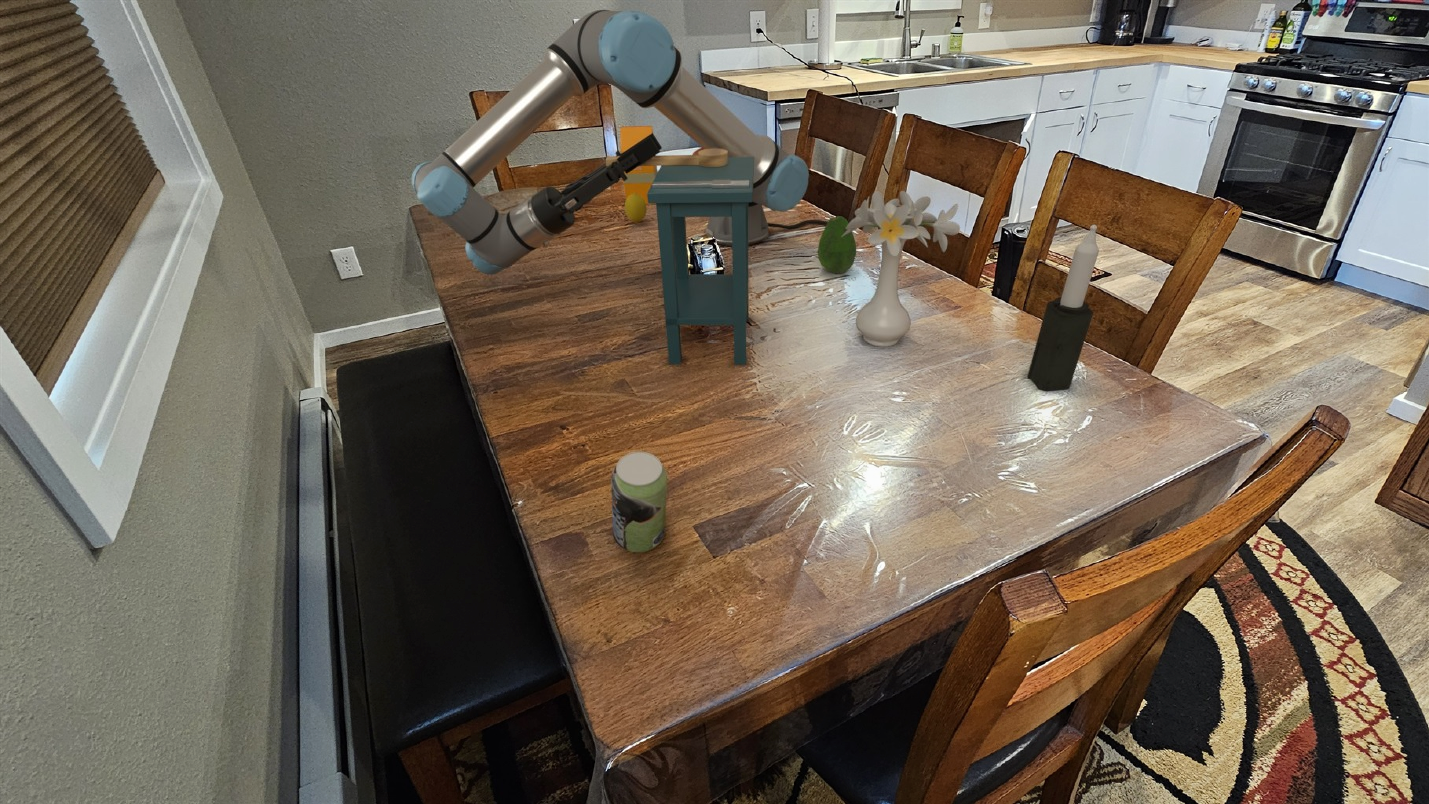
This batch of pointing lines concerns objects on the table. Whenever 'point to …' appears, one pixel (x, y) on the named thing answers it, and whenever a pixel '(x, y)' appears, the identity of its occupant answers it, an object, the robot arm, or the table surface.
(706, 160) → the wooden spoon
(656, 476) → the beverage can
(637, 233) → the table surface
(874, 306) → the flower vase
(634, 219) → the lemon
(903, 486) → the table surface
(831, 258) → the avocado
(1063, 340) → the candle
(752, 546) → the table surface
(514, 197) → the ceramic bowl
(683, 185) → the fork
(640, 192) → the orange juice
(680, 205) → the stand
